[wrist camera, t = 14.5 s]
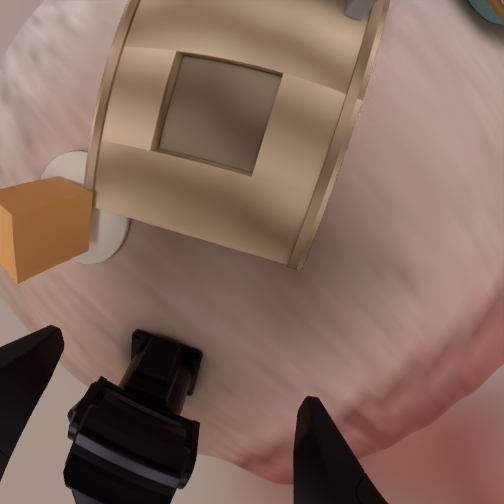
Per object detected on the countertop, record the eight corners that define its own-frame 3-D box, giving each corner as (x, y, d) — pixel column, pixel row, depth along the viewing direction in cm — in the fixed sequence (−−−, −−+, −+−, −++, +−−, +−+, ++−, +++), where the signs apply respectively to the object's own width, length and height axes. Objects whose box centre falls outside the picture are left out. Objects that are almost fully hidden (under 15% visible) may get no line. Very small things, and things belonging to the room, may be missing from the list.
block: (88, 250, 20) (18, 283, 14) (56, 229, 21) (-9, 254, 15) (93, 192, 18) (11, 214, 12) (58, 176, 19) (-13, 192, 13)
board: (300, 259, 21) (302, 271, 19) (92, 198, 20) (79, 204, 18) (397, -60, 10) (405, -70, 8) (193, -100, 9) (188, -111, 7)
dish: (124, 273, 23) (120, 278, 22) (43, 242, 22) (37, 246, 21) (139, 162, 19) (134, 164, 18) (47, 143, 18) (40, 144, 18)
